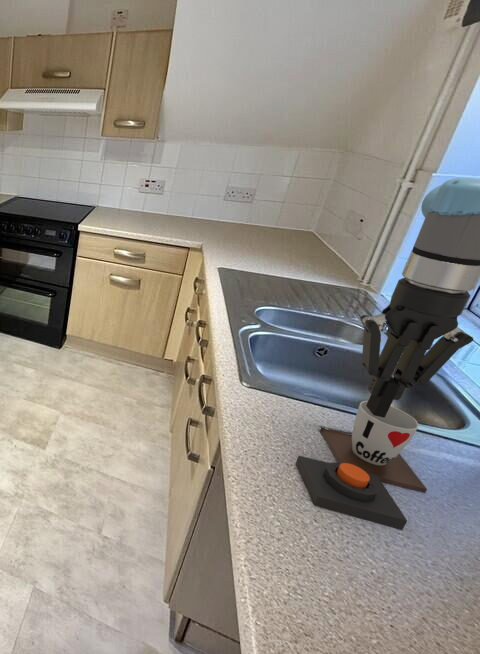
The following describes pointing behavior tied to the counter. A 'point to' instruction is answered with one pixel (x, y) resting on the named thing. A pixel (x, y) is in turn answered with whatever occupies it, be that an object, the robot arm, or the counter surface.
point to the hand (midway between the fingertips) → (375, 411)
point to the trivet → (389, 473)
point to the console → (349, 494)
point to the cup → (381, 434)
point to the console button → (353, 475)
